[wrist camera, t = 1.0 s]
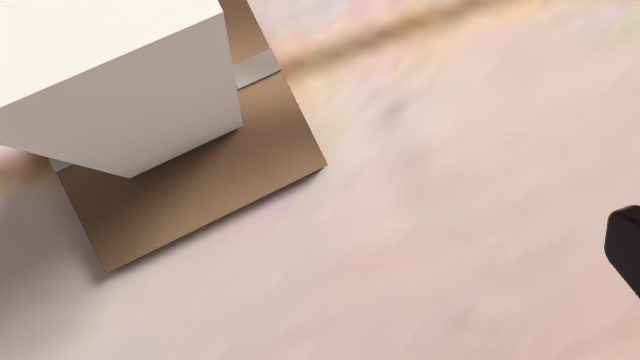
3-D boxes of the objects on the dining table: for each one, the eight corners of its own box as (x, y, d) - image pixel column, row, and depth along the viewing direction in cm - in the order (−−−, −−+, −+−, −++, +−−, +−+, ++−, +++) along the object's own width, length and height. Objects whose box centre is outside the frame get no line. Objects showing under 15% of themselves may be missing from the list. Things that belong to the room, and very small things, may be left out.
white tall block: (243, 125, 21) (223, 11, 9) (129, 178, 20) (-54, 130, 8) (200, 39, 21) (124, -189, 9) (85, 89, 20) (-161, -87, 8)
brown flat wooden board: (324, 167, 22) (328, 164, 21) (113, 270, 21) (104, 274, 20) (156, -174, 23) (150, -195, 21) (-66, -93, 21) (-85, -111, 20)
